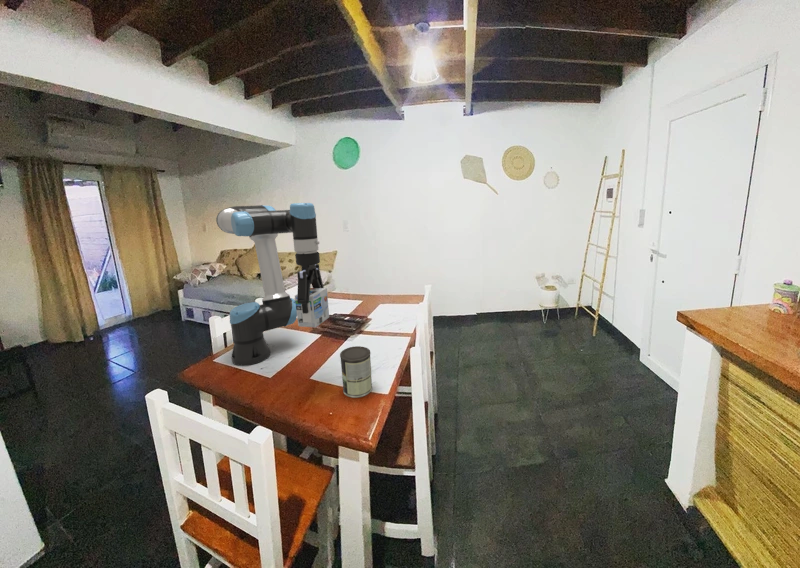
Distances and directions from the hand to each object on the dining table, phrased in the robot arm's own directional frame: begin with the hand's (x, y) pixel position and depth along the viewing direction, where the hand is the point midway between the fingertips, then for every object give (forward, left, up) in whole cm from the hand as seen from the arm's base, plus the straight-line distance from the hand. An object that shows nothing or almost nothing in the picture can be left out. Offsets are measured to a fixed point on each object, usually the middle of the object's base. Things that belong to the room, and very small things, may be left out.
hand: (313, 315), depth 107 cm
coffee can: (+2, +14, -27) cm, 30 cm away
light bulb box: (0, 0, -2) cm, 2 cm away
